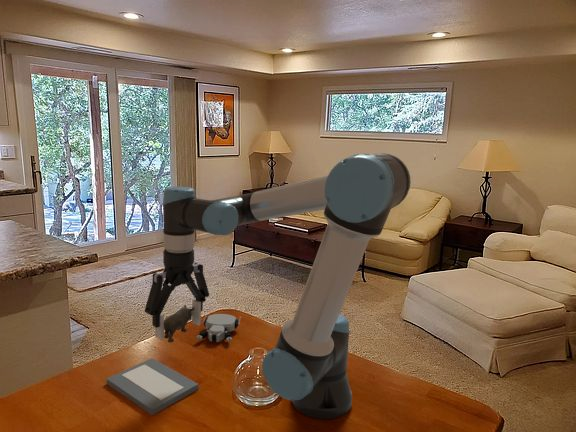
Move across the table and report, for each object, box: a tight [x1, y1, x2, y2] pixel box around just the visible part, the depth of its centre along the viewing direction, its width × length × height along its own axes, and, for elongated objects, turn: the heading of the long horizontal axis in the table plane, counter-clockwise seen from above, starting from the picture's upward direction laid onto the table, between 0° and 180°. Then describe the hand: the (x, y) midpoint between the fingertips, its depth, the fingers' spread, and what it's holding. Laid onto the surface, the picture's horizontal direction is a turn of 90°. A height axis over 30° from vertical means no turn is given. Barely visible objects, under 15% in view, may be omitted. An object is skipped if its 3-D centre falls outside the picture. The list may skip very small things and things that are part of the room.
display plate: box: [105, 357, 199, 416], centre depth 114 cm, size 20×14×2 cm
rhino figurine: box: [164, 304, 195, 343], centre depth 113 cm, size 4×14×6 cm, turn 164°
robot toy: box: [196, 313, 242, 343], centre depth 144 cm, size 12×4×15 cm
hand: (178, 330), depth 113 cm, fingers closed on rhino figurine, 11 cm apart
